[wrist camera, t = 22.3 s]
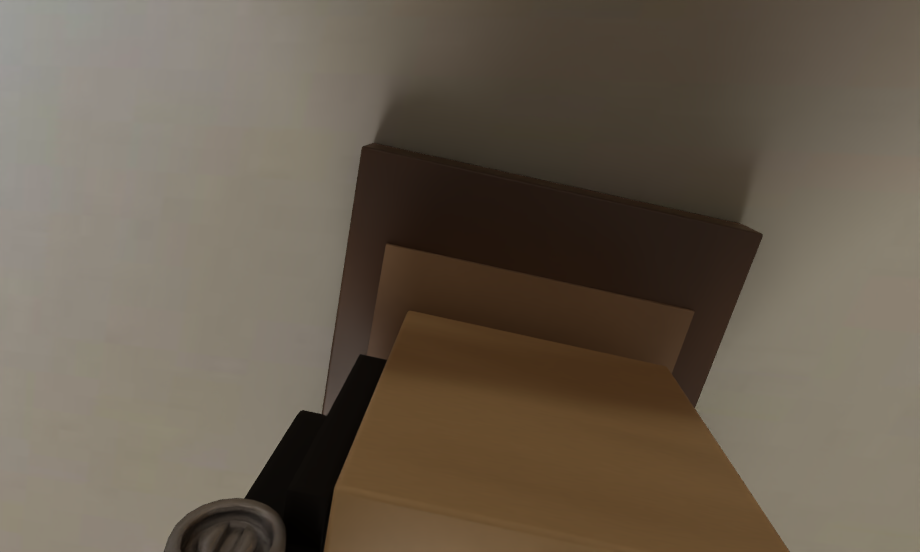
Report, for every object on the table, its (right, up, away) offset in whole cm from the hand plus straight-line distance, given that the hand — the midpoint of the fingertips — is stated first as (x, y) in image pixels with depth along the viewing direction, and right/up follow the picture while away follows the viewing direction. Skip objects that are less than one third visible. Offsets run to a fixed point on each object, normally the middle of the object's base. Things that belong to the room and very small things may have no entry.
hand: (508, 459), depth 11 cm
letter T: (0, 0, 0) cm, 0 cm away
